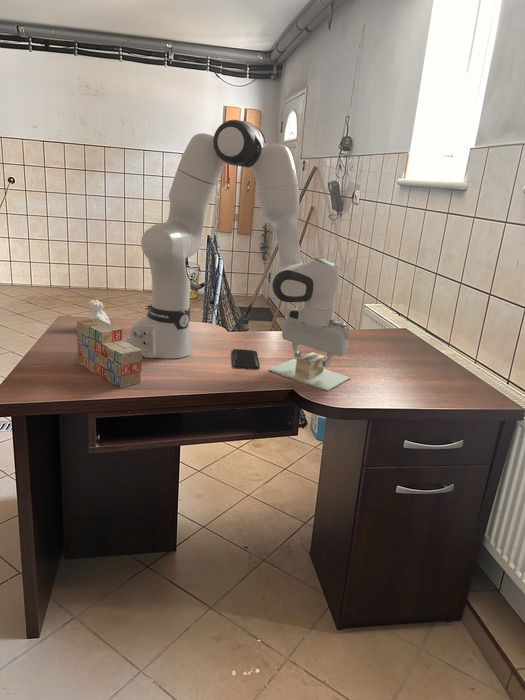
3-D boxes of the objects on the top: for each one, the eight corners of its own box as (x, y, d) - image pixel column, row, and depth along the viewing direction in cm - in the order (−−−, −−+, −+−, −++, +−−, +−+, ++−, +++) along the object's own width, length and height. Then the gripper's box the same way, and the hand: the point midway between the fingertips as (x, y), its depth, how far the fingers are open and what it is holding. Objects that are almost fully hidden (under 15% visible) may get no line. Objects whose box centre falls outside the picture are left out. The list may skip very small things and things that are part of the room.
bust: (99, 330, 177) (78, 304, 173) (117, 318, 178) (97, 292, 173) (98, 341, 166) (75, 314, 162) (117, 328, 167) (95, 301, 162)
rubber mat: (268, 370, 152) (268, 369, 152) (293, 360, 163) (293, 358, 163) (327, 391, 141) (328, 389, 141) (350, 378, 152) (350, 377, 152)
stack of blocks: (141, 383, 134) (142, 338, 130) (120, 388, 129) (121, 342, 125) (97, 358, 147) (97, 317, 143) (76, 362, 142) (76, 320, 138)
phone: (256, 350, 166) (260, 367, 152) (256, 354, 166) (259, 370, 152) (232, 348, 165) (233, 365, 151) (231, 352, 165) (233, 368, 151)
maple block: (310, 367, 157) (312, 351, 155) (323, 371, 154) (325, 355, 153) (294, 374, 149) (297, 358, 148) (308, 379, 147) (310, 362, 145)
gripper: (355, 323, 143) (347, 369, 148) (293, 306, 154) (288, 350, 158) (345, 327, 138) (337, 374, 143) (282, 309, 149) (276, 354, 153)
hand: (311, 361), depth 151 cm, fingers open, 8 cm apart
